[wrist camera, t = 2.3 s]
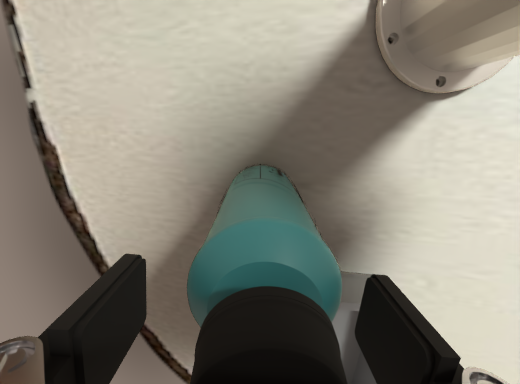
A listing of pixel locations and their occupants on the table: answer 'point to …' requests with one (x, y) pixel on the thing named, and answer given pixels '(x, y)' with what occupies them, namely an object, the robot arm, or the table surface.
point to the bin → (351, 329)
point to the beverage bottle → (265, 290)
